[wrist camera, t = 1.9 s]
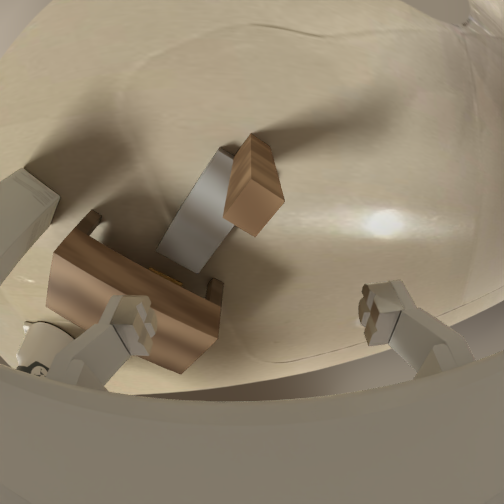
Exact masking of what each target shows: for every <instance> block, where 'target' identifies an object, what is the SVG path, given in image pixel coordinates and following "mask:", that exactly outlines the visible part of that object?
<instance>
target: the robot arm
mask: <svg viewBox="0 0 504 504" xmlns="http://www.w3.org/2000/svg"><path fill="white" fill-rule="evenodd" d="M362 294H363V296H364V297H363V298H362V299H361V300H360V302H359V307H358V314H359V319H360V322H361V324H362V325H363V326H364V327H366V328H365V331H364V334H365V337H366V340H367V343H368V346H374V345H382V344H388V345H389V346H390V347H391V348H392V349H393V350H394V351H395V352H397V353H398V354H399V355H400V356H401V357H402V358H403V359H404V360H405V361H406V362H407V363H408V364H409V365H410V366H411V367H412V368H413V369H414V370H415V371H416V372H417V374H416V376H415V377H414V379H413V380H411V381H406V382H402V383H398V384H393V385H389V386H383V387H378V388H373V389H368V390H362V391H356V392H351V393H344V394H336V395H329V396H320V397H312V398H301V399H290V400H274V401H248V402H247V401H246V402H215V401H188V400H173V399H160V398H151V397H141V396H134V395H126V394H120V393H113V392H109V391H108V390H107V389H106V388H105V387H104V385H105V384H106V383H107V382H108V381H109V379H110V378H111V377H112V376H113V375H114V374H115V373H116V372H117V371H118V369H119V368H120V367H121V366H122V365H123V364H124V363H125V362H126V361H127V360H128V358H129V357H130V355H139V356H149V355H150V352H151V348H152V345H153V341H152V339H151V338H152V337H153V336H154V335H155V334H156V331H157V316H156V313H155V311H154V310H153V309H152V308H150V305H151V301H150V299H149V297H148V296H146V295H113V296H112V297H111V298H110V300H109V302H108V304H107V306H106V308H105V310H104V312H103V314H102V316H101V318H100V320H99V323H98V324H94V325H93V326H91V327H90V328H89V329H88V330H86V331H85V332H84V333H82V334H81V335H80V336H79V337H77V338H76V339H75V340H74V339H73V338H72V337H71V336H69V335H68V334H67V333H65V332H64V331H62V330H61V329H59V328H57V327H55V326H53V325H50V324H47V323H43V322H37V323H33V324H32V323H28V322H25V323H24V325H23V328H24V332H25V336H24V339H23V341H22V343H21V345H20V347H19V349H18V351H17V354H16V356H17V360H18V363H19V366H18V367H17V369H13V368H10V367H7V366H5V365H2V364H0V504H504V350H503V351H500V352H498V353H495V354H493V355H491V356H488V357H485V358H482V359H480V360H477V361H476V360H475V358H474V356H473V354H472V352H471V350H470V348H469V346H468V344H467V342H466V340H465V338H464V337H463V336H462V335H460V334H459V333H457V332H456V331H454V330H453V329H451V328H450V327H448V326H447V325H445V324H444V323H442V322H441V321H439V320H438V319H436V318H435V317H433V316H432V315H430V314H429V313H427V312H426V311H424V310H423V309H421V308H417V307H416V305H415V303H414V301H413V300H412V298H411V296H410V294H409V292H408V291H407V289H406V287H405V285H404V284H403V282H402V281H401V280H393V281H386V282H376V283H367V284H364V286H363V289H362Z"/></svg>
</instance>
